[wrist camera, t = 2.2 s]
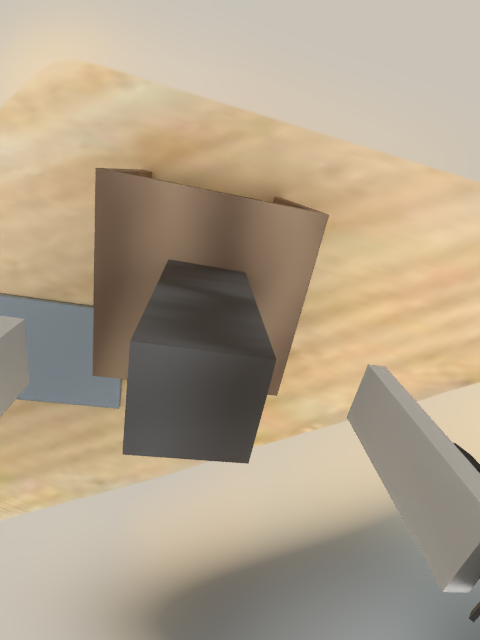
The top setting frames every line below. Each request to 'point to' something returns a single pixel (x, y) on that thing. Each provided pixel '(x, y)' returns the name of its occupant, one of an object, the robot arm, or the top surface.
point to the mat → (60, 353)
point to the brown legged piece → (196, 309)
